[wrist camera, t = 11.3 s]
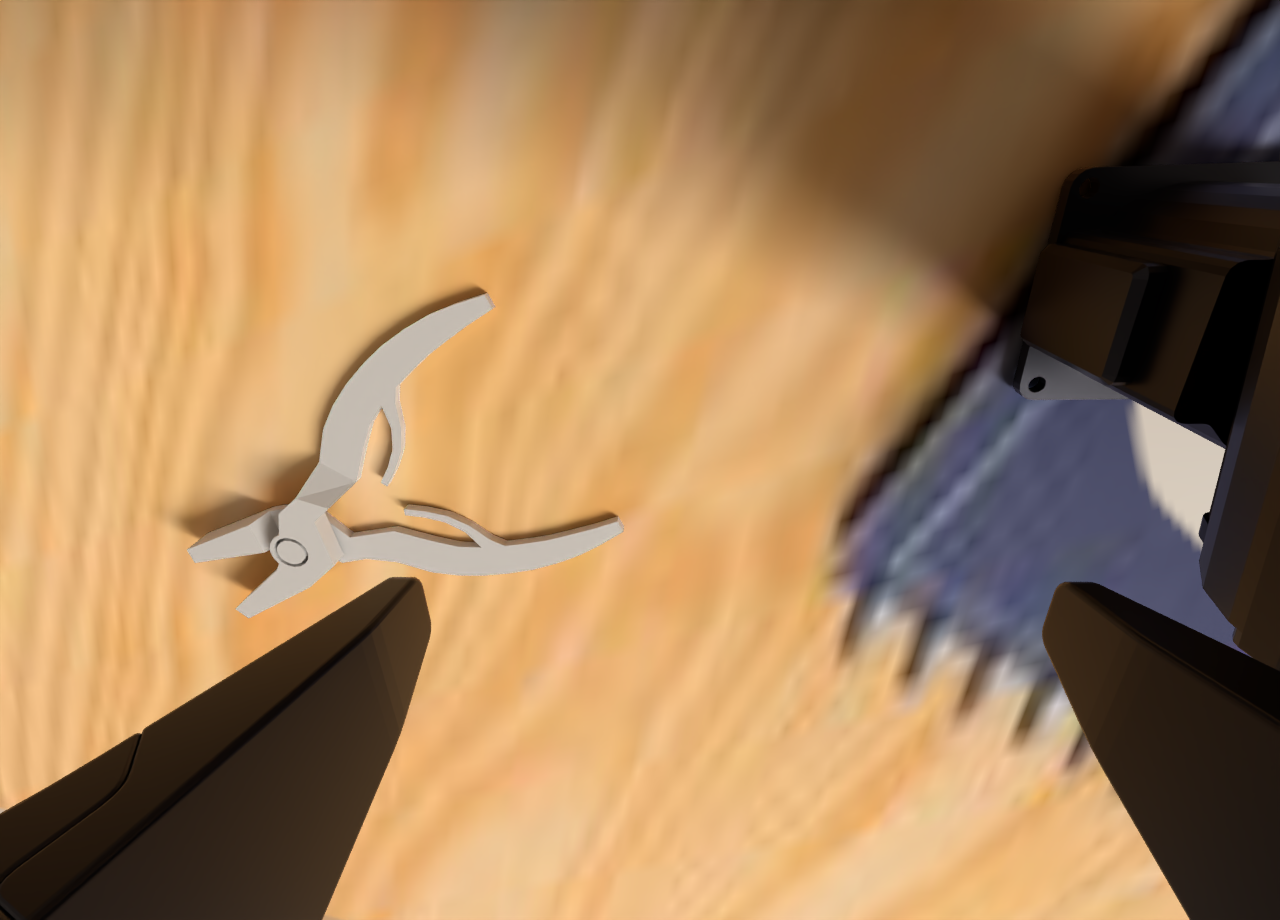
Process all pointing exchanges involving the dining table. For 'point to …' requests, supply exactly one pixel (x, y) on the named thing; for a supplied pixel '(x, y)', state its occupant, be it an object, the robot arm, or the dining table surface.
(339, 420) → the pliers
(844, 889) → the dining table surface
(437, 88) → the dining table surface
